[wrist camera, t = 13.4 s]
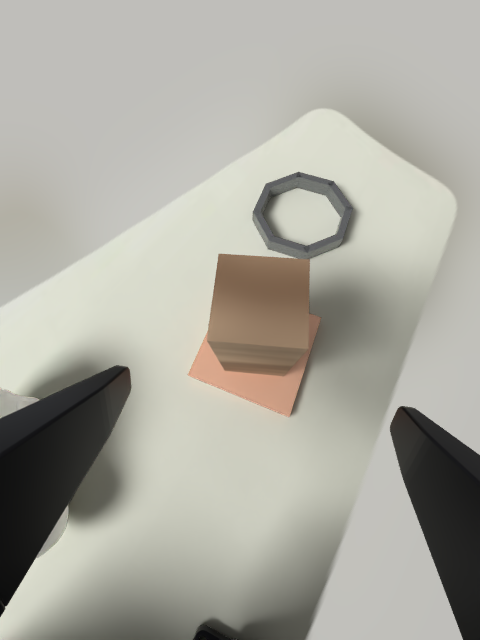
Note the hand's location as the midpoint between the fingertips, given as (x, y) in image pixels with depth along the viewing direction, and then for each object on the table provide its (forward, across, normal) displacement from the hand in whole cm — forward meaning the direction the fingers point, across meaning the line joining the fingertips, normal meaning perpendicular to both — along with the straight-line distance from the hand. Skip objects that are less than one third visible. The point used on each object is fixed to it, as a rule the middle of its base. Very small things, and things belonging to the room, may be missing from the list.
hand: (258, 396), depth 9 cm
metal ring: (+20, -3, -4) cm, 21 cm away
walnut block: (+11, 0, +4) cm, 12 cm away
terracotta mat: (+11, 0, +5) cm, 12 cm away
